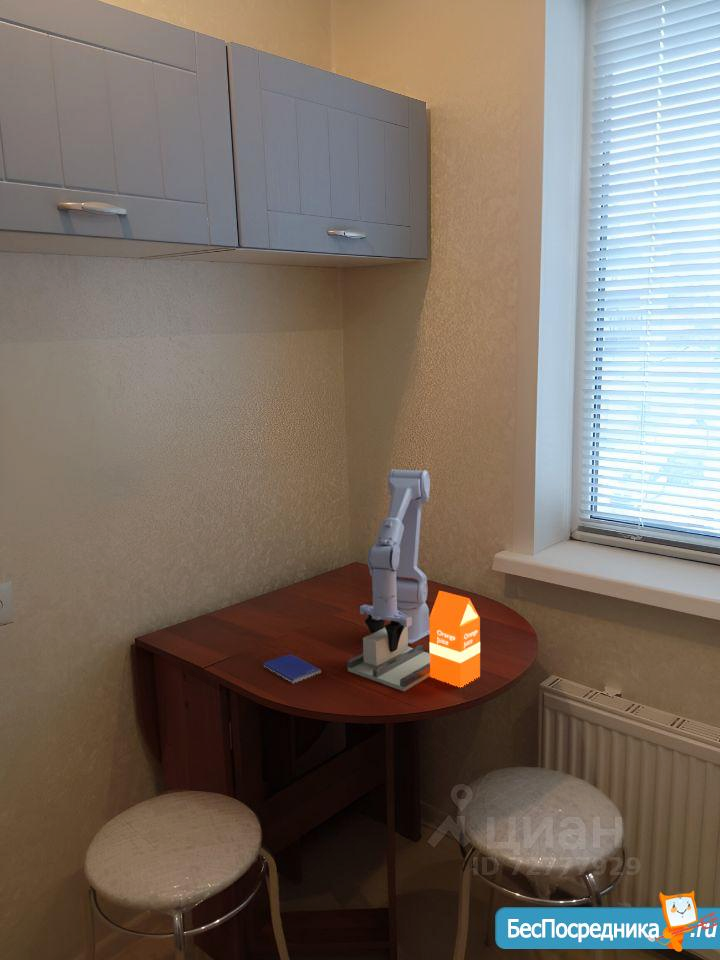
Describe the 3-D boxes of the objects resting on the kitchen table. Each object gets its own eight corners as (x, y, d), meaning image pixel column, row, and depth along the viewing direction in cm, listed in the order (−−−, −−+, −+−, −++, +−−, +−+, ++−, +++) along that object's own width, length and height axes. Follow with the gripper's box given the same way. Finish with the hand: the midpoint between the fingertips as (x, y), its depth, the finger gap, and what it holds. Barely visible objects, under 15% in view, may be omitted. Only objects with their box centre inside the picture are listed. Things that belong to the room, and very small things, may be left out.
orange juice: (450, 665, 181) (449, 586, 177) (480, 676, 175) (480, 594, 171) (429, 677, 175) (428, 595, 171) (460, 688, 169) (459, 603, 165)
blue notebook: (321, 668, 179) (291, 653, 189) (292, 679, 174) (263, 662, 183) (321, 674, 180) (291, 659, 189) (293, 685, 174) (263, 669, 184)
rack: (395, 646, 193) (395, 637, 192) (450, 664, 182) (450, 654, 181) (347, 670, 180) (347, 661, 179) (404, 691, 169) (404, 681, 168)
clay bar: (395, 645, 189) (394, 622, 188) (408, 649, 186) (407, 626, 185) (363, 661, 180) (362, 638, 179) (376, 666, 177) (375, 642, 176)
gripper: (350, 592, 182) (352, 645, 184) (397, 605, 172) (399, 661, 175) (370, 585, 187) (371, 636, 190) (416, 597, 177) (417, 651, 180)
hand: (386, 647), depth 183 cm, fingers closed on clay bar, 4 cm apart
